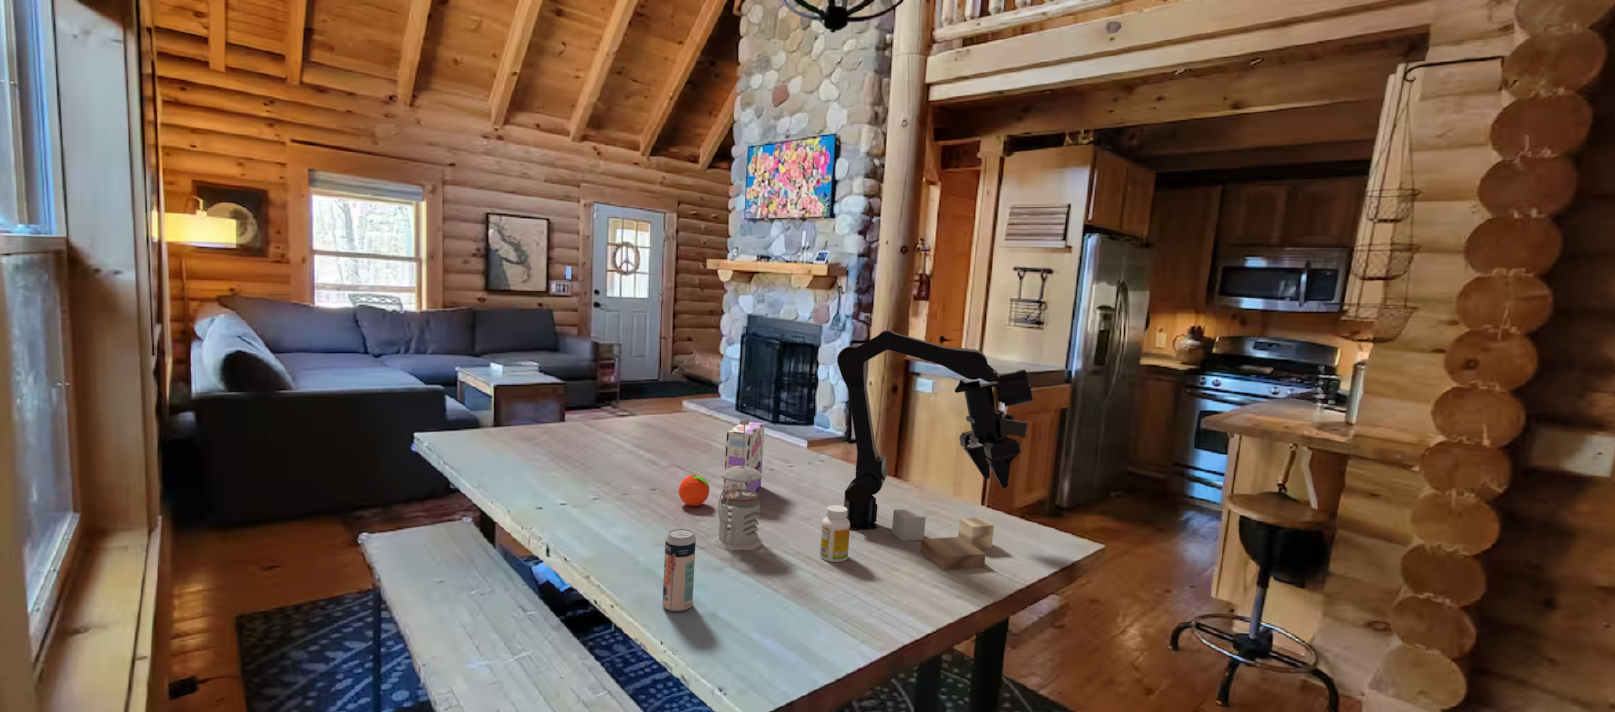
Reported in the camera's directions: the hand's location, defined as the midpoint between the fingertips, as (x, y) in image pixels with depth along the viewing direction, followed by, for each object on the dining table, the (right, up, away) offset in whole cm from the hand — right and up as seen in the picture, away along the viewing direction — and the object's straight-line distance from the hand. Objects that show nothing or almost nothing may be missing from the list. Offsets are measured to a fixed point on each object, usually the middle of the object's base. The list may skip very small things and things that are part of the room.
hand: (995, 483), depth 145 cm
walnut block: (-11, -14, -8) cm, 19 cm away
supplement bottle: (-34, -12, -11) cm, 38 cm away
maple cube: (-4, -13, +1) cm, 14 cm away
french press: (-53, -11, -7) cm, 55 cm away
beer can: (-60, -13, -35) cm, 70 cm away
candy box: (-55, -7, +25) cm, 61 cm away
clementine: (-65, -8, +13) cm, 66 cm away
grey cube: (-18, -12, +3) cm, 22 cm away
